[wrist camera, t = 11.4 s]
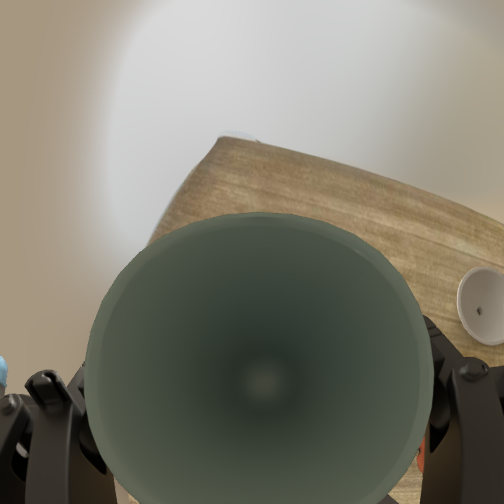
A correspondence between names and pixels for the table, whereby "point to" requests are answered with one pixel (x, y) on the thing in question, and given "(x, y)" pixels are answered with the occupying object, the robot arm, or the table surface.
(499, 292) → the dish
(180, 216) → the table surface
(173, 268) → the cup
